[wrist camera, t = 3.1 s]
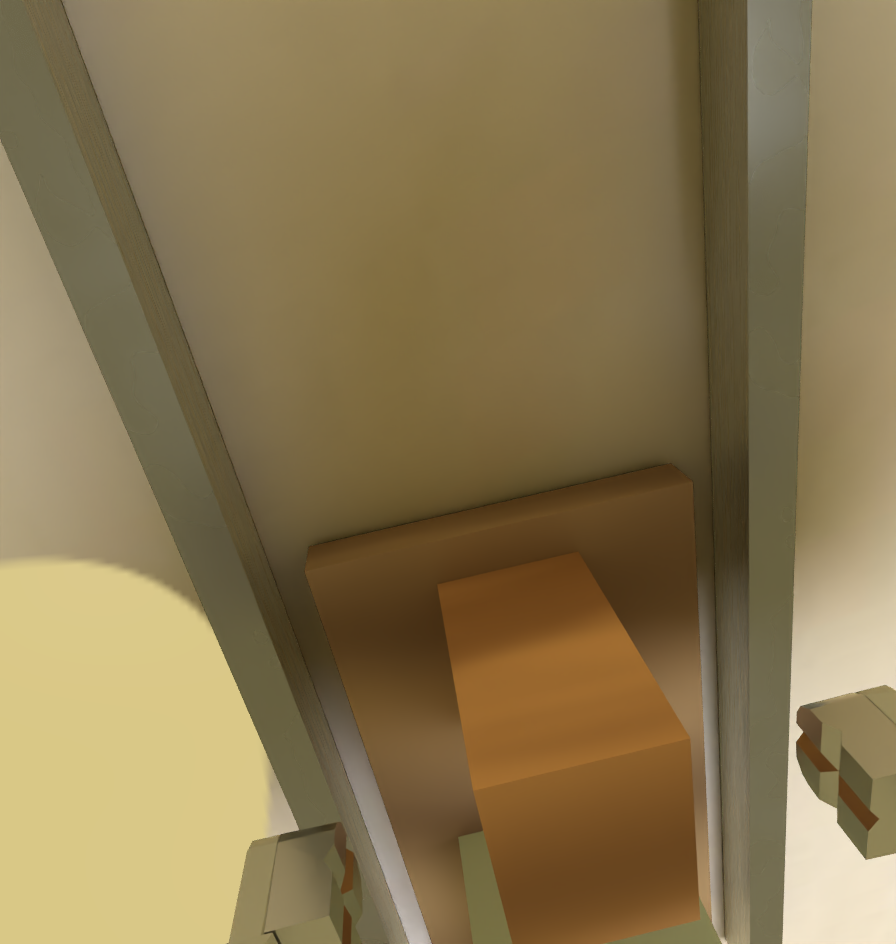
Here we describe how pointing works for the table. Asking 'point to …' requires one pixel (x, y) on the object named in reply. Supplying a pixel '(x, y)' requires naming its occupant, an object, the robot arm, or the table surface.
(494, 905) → the sage block
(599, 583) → the strip
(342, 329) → the table surface
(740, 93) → the lane guide
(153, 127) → the table surface
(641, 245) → the table surface
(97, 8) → the table surface
